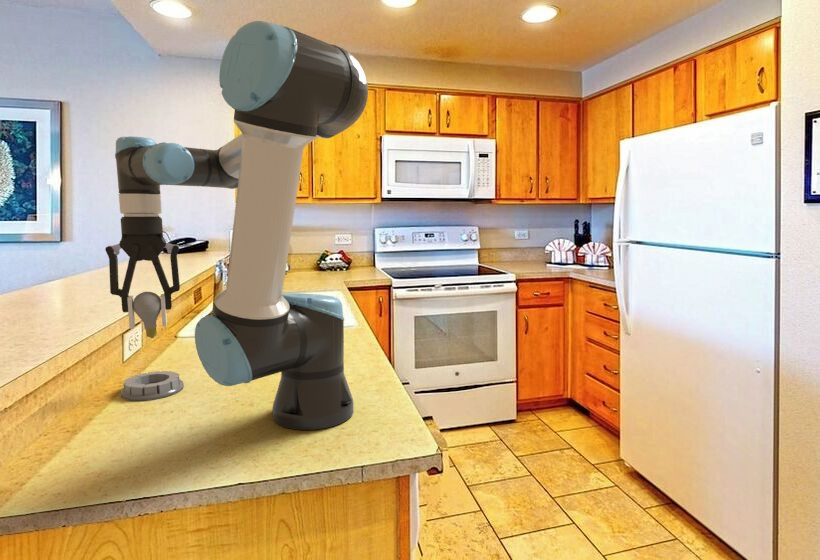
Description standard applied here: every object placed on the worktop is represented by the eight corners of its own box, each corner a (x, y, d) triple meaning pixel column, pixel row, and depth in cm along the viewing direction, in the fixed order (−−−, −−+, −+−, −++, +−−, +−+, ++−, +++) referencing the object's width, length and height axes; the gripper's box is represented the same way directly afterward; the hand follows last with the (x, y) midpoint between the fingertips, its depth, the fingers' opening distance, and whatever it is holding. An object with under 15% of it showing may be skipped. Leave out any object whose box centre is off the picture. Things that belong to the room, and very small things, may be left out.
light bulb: (159, 332, 109) (153, 288, 107) (170, 336, 106) (164, 290, 104) (133, 339, 105) (126, 292, 103) (144, 343, 102) (137, 295, 100)
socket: (183, 395, 103) (182, 383, 103) (117, 404, 99) (116, 392, 98) (183, 378, 114) (183, 367, 114) (124, 385, 110) (123, 374, 109)
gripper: (190, 215, 109) (195, 319, 112) (92, 215, 101) (101, 326, 104) (190, 215, 102) (196, 325, 105) (85, 215, 94) (94, 334, 98)
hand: (148, 325), depth 105 cm, fingers closed on light bulb, 5 cm apart
